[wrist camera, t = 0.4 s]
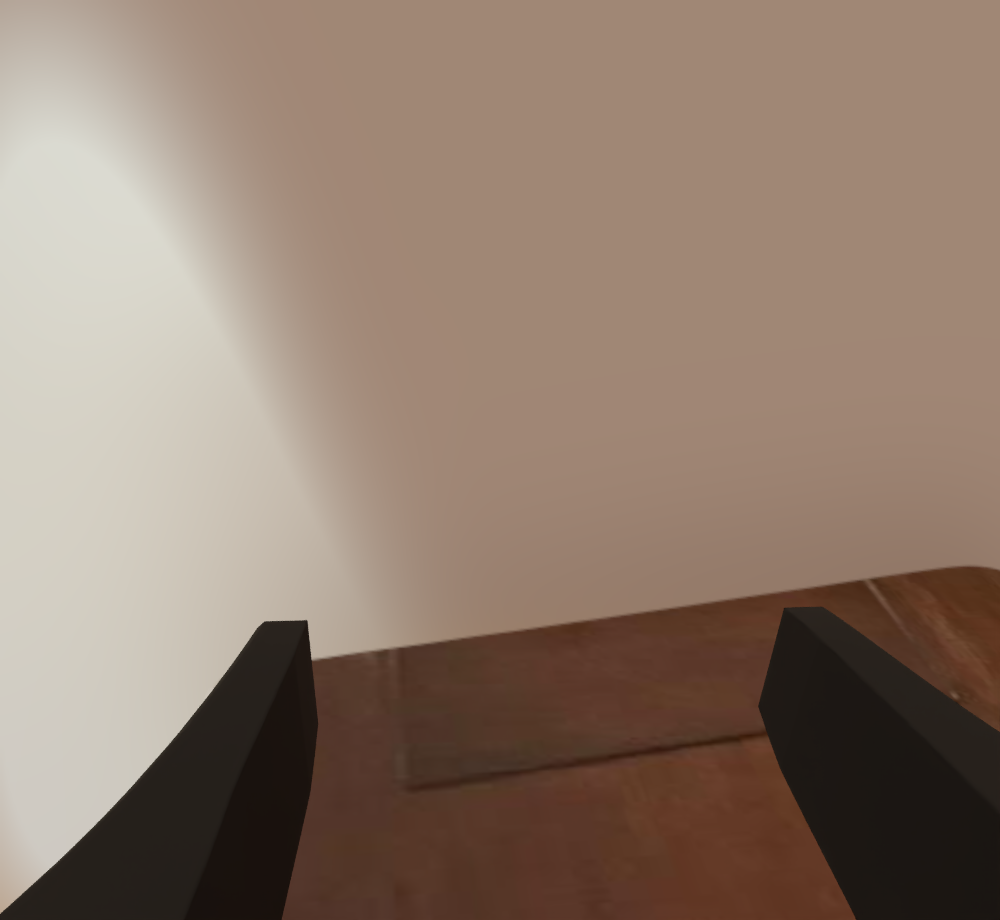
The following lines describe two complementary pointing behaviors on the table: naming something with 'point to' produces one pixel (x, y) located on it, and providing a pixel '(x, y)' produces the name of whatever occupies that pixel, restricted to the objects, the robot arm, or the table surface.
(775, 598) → the table surface
